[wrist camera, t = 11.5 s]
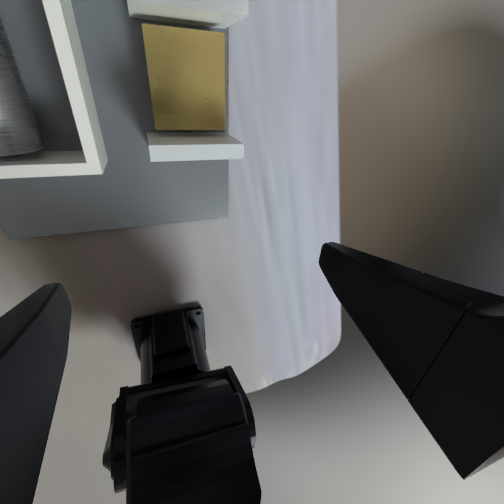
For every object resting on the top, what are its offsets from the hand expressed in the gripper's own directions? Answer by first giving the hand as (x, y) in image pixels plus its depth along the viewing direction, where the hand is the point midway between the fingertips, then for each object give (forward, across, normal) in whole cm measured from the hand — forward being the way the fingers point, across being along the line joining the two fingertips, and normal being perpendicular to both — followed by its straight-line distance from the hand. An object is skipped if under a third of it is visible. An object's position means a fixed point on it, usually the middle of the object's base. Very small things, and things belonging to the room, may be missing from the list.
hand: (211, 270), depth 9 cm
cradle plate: (+11, -1, -5) cm, 12 cm away
